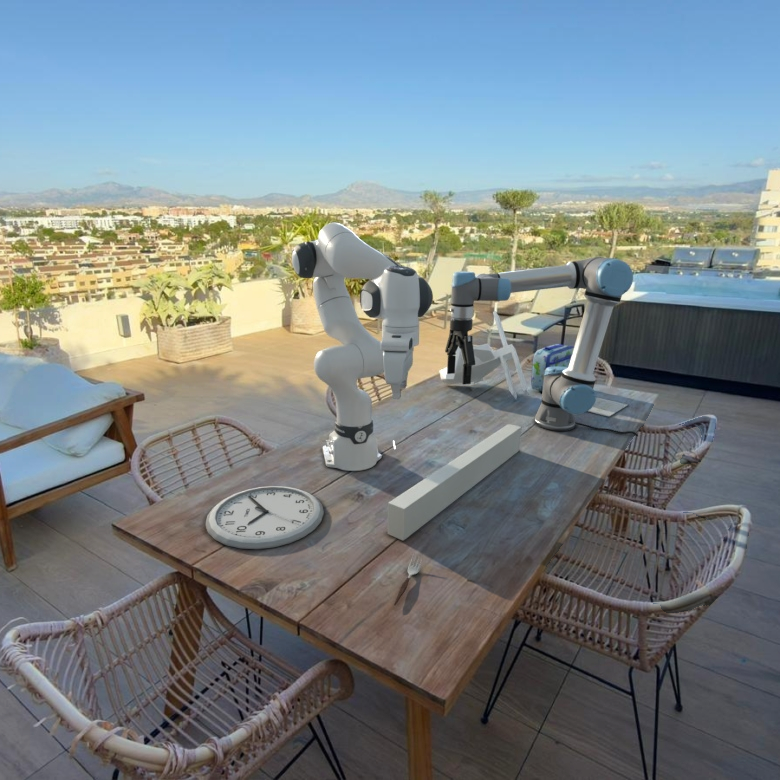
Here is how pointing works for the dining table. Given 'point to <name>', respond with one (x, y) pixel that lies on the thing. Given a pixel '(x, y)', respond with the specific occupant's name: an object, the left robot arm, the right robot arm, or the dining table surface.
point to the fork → (412, 571)
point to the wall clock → (264, 517)
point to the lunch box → (549, 362)
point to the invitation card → (606, 407)
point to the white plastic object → (487, 363)
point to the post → (450, 482)
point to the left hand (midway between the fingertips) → (399, 393)
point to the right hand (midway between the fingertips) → (458, 378)
